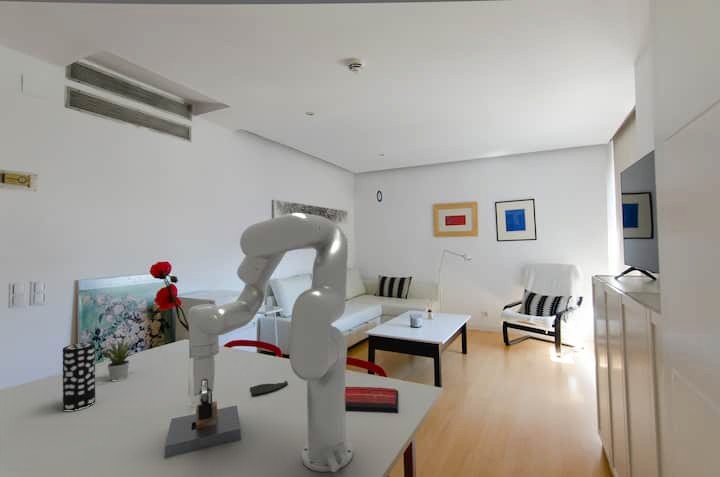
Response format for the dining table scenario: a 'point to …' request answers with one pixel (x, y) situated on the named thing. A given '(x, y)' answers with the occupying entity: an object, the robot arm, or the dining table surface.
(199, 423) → the keyed peg
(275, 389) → the curved wedge
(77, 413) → the dining table surface
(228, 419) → the socket plate
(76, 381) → the spotted tube
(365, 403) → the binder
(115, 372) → the house plant
